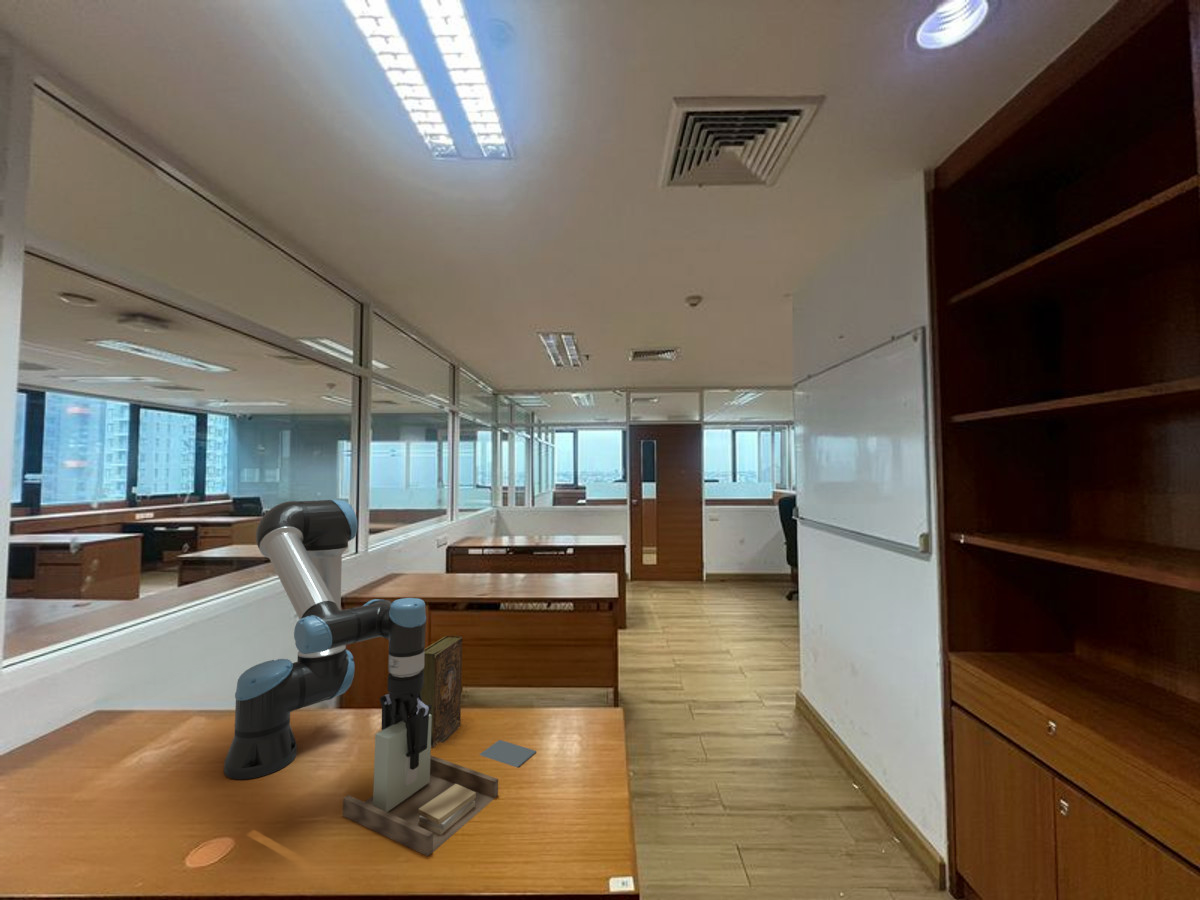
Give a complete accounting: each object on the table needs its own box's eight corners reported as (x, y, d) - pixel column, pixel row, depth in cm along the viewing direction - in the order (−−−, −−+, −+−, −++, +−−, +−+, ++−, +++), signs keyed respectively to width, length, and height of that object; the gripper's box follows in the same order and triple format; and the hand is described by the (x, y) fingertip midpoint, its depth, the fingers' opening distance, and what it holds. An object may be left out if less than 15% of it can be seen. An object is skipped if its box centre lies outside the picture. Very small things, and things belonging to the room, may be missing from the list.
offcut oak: (418, 813, 103) (418, 808, 103) (455, 788, 112) (455, 783, 112) (438, 824, 100) (438, 819, 100) (475, 797, 109) (475, 792, 109)
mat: (452, 775, 122) (452, 774, 122) (499, 741, 138) (499, 739, 138) (491, 790, 117) (491, 788, 117) (536, 752, 133) (536, 751, 133)
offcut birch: (418, 825, 103) (418, 820, 103) (453, 797, 112) (453, 793, 112) (440, 835, 100) (440, 829, 100) (475, 806, 109) (475, 801, 109)
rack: (342, 823, 105) (343, 798, 106) (418, 772, 123) (419, 751, 124) (427, 864, 94) (428, 836, 95) (497, 802, 112) (498, 779, 113)
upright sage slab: (372, 806, 107) (375, 733, 108) (417, 777, 118) (419, 710, 119) (386, 812, 106) (388, 738, 106) (429, 782, 116) (431, 714, 117)
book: (445, 721, 149) (447, 634, 150) (462, 723, 148) (464, 636, 149) (413, 751, 133) (416, 653, 134) (432, 754, 132) (435, 655, 133)
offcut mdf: (419, 821, 102) (419, 816, 102) (451, 793, 112) (451, 788, 112) (443, 829, 100) (443, 824, 100) (474, 799, 109) (474, 795, 109)
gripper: (365, 669, 114) (361, 777, 113) (421, 685, 106) (417, 801, 105) (393, 658, 120) (389, 760, 119) (447, 672, 112) (444, 781, 111)
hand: (402, 779), depth 112 cm, fingers closed on upright sage slab, 4 cm apart
